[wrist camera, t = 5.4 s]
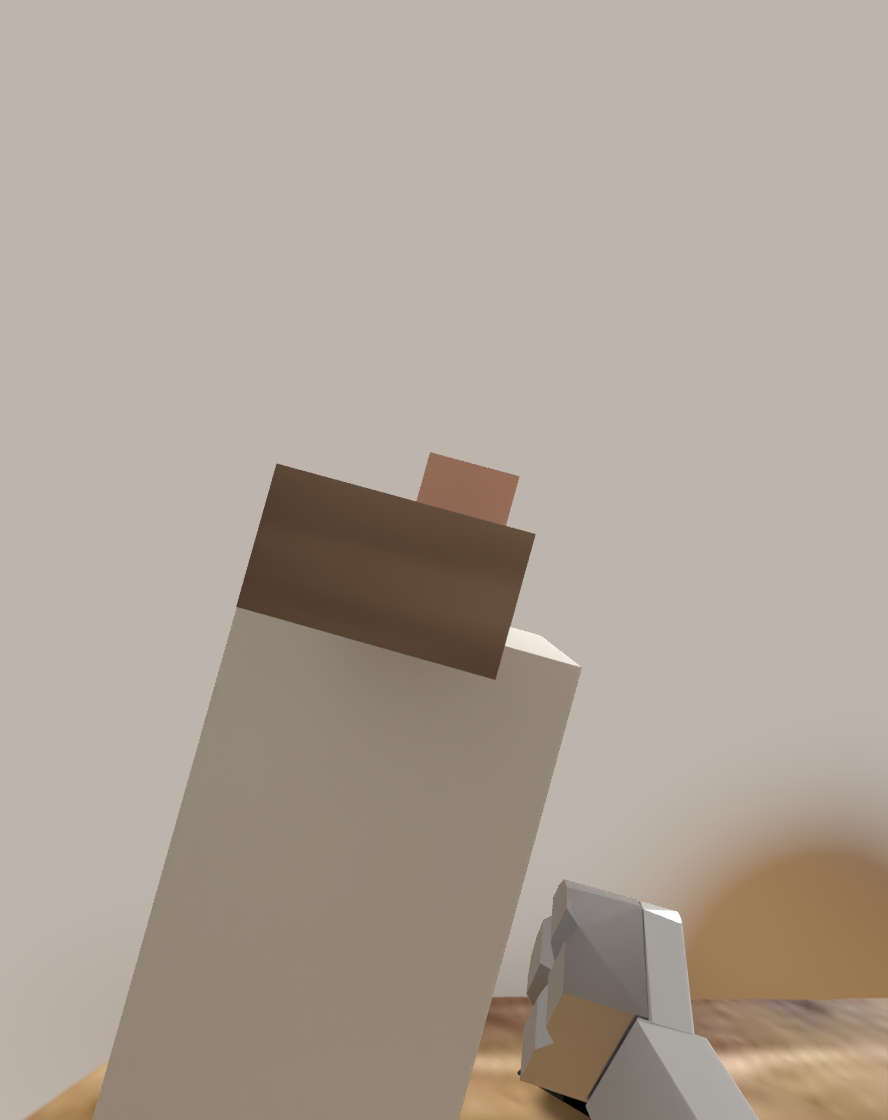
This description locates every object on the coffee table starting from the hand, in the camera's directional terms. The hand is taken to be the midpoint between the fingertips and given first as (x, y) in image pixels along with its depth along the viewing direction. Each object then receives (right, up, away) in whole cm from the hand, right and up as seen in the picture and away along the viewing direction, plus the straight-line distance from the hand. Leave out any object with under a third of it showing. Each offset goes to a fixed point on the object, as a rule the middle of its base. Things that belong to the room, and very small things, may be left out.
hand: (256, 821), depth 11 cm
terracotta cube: (+3, +4, +27) cm, 27 cm away
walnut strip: (+2, +2, +16) cm, 16 cm away
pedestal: (-5, -24, +20) cm, 31 cm away
